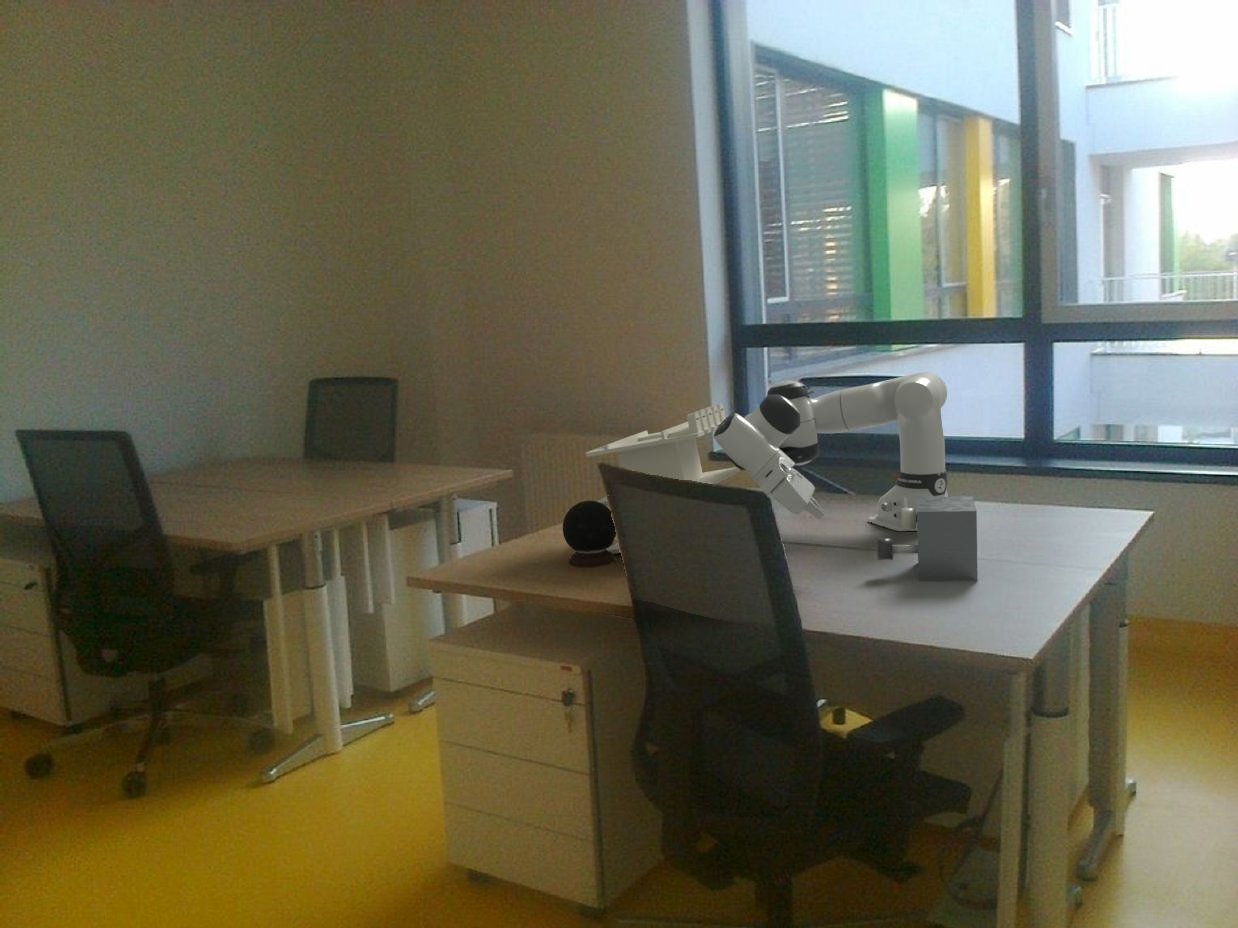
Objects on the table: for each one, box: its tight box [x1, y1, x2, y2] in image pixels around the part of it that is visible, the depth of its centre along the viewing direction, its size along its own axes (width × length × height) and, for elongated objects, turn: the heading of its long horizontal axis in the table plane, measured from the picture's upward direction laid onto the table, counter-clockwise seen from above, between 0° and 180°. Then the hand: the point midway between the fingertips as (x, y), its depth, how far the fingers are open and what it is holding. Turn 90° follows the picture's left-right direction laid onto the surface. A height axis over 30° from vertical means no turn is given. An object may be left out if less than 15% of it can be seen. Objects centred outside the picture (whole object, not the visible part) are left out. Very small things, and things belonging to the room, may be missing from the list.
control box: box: [916, 495, 978, 582], centre depth 251 cm, size 12×16×15 cm
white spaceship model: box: [585, 403, 742, 555], centre depth 292 cm, size 26×31×35 cm
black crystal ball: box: [562, 500, 617, 568], centre depth 281 cm, size 13×13×15 cm
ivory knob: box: [902, 508, 917, 529], centre depth 256 cm, size 10×5×5 cm, turn 76°
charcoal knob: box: [877, 537, 918, 561], centre depth 250 cm, size 10×5×5 cm, turn 76°
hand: (822, 516), depth 253 cm, fingers closed
